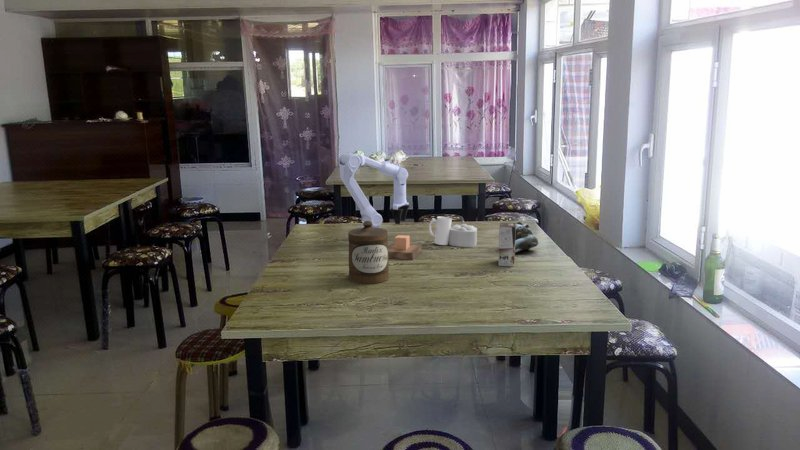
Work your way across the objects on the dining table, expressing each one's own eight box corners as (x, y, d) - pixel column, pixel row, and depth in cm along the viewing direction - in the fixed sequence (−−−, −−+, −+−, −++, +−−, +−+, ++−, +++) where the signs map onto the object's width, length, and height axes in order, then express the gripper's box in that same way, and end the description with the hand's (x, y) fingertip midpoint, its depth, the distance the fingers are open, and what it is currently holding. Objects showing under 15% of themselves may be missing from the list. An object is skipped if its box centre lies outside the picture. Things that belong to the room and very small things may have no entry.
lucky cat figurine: (506, 255, 273) (497, 224, 276) (505, 259, 284) (496, 229, 287) (541, 245, 272) (530, 214, 275) (538, 249, 283) (528, 220, 286)
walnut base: (381, 257, 271) (380, 250, 270) (391, 249, 284) (391, 243, 283) (412, 260, 266) (412, 253, 266) (422, 252, 279) (422, 245, 279)
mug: (449, 243, 295) (453, 218, 292) (446, 246, 288) (449, 220, 286) (429, 239, 298) (432, 214, 295) (425, 242, 291) (428, 216, 289)
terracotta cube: (394, 248, 273) (394, 237, 272) (398, 246, 277) (398, 234, 276) (406, 249, 271) (406, 238, 270) (409, 247, 276) (409, 235, 275)
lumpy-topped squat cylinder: (475, 247, 287) (476, 228, 285) (446, 245, 289) (446, 227, 287) (477, 242, 297) (477, 223, 295) (449, 240, 299) (449, 222, 297)
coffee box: (514, 266, 255) (515, 227, 252) (498, 266, 256) (499, 226, 253) (515, 260, 264) (516, 222, 261) (499, 260, 265) (500, 221, 262)
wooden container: (353, 285, 232) (352, 226, 227) (345, 274, 246) (344, 218, 241) (393, 282, 236) (392, 223, 231) (383, 271, 250) (382, 216, 245)
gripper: (403, 195, 285) (403, 225, 288) (412, 191, 299) (413, 219, 301) (388, 195, 287) (388, 224, 290) (398, 190, 301) (398, 218, 304)
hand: (400, 222), depth 296 cm, fingers open, 7 cm apart
